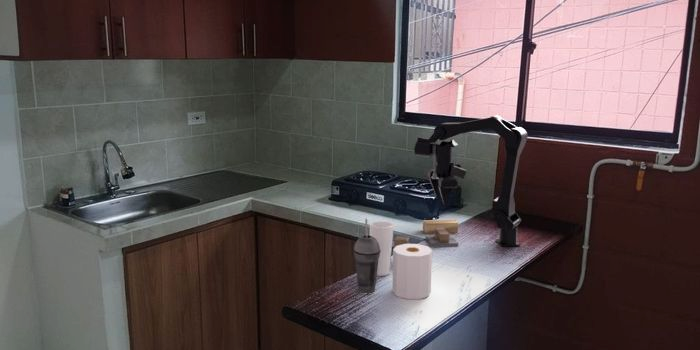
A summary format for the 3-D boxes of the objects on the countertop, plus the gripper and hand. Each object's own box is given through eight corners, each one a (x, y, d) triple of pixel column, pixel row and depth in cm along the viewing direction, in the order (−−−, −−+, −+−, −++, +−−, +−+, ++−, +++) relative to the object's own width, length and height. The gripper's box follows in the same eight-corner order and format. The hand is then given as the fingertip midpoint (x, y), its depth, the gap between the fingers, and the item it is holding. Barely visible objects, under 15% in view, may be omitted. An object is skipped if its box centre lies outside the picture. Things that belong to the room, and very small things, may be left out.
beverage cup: (357, 297, 152) (358, 224, 147) (350, 286, 158) (350, 217, 154) (383, 294, 153) (385, 222, 149) (375, 284, 160) (376, 215, 156)
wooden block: (406, 265, 175) (407, 240, 173) (393, 264, 176) (394, 239, 174) (408, 261, 178) (409, 236, 177) (396, 259, 180) (396, 235, 178)
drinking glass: (378, 267, 173) (378, 219, 170) (396, 272, 169) (397, 223, 166) (364, 273, 168) (364, 224, 165) (382, 279, 164) (384, 229, 161)
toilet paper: (407, 281, 163) (409, 240, 160) (438, 291, 156) (439, 249, 153) (384, 291, 155) (385, 249, 153) (415, 303, 148) (416, 259, 146)
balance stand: (458, 245, 193) (458, 234, 192) (432, 246, 192) (432, 235, 191) (450, 237, 202) (450, 226, 201) (425, 238, 201) (425, 227, 200)
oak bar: (457, 233, 208) (458, 222, 207) (425, 234, 206) (425, 223, 206) (454, 230, 212) (455, 219, 211) (422, 230, 210) (423, 220, 209)
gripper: (474, 163, 195) (471, 207, 198) (457, 153, 213) (455, 194, 217) (442, 163, 194) (440, 208, 197) (428, 154, 212) (426, 195, 215)
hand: (441, 201), depth 207 cm, fingers open, 9 cm apart
